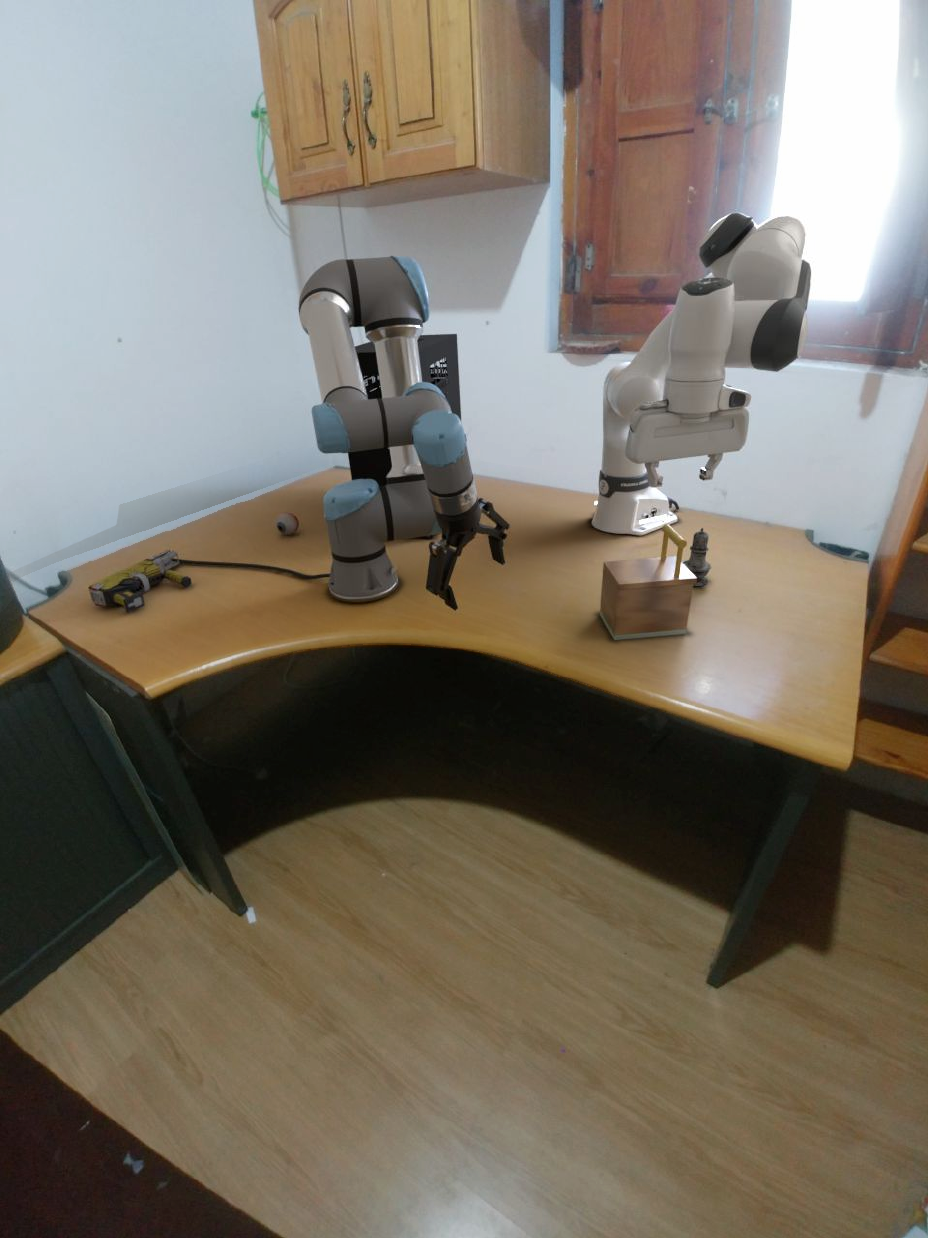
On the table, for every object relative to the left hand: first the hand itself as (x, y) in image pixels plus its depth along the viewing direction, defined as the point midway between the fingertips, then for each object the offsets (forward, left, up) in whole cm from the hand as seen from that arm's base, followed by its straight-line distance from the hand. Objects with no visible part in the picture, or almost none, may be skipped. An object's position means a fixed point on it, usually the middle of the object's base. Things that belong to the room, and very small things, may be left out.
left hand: (475, 583), depth 116 cm
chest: (+31, +7, -8) cm, 33 cm away
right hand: (+35, +9, +19) cm, 40 cm away
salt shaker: (+40, +28, -8) cm, 49 cm away
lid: (+31, +7, +2) cm, 32 cm away
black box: (-37, +54, -8) cm, 66 cm away
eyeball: (-65, +30, -8) cm, 72 cm away
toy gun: (-76, -6, -8) cm, 77 cm away
